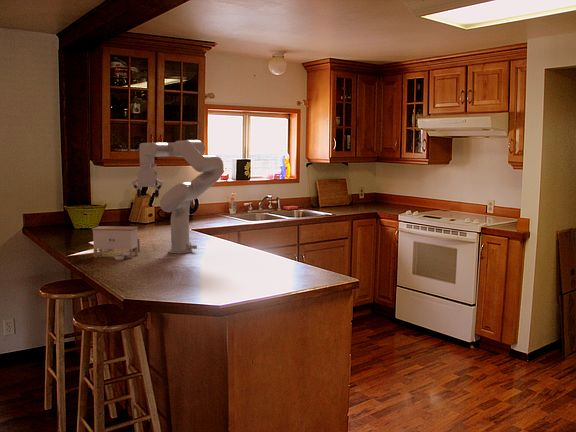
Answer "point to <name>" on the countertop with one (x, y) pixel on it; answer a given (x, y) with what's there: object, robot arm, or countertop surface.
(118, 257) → the round metal knob
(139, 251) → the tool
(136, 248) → the cabinet
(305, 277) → the countertop surface
